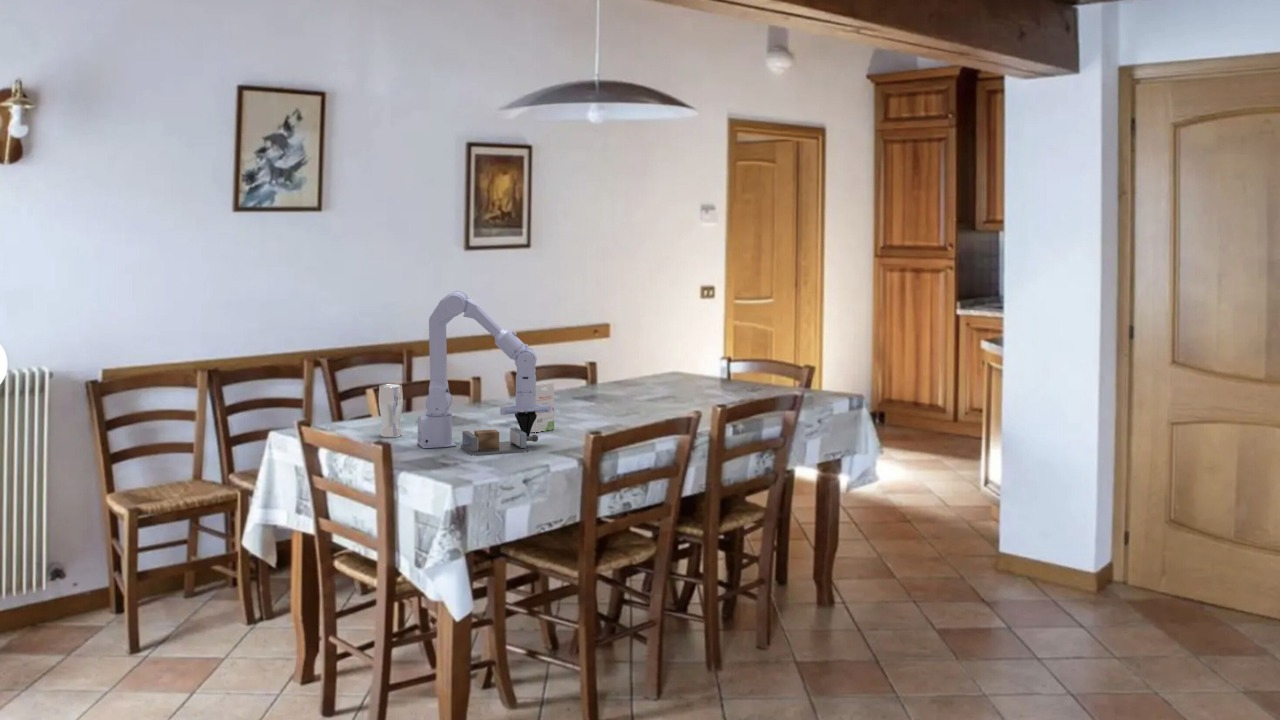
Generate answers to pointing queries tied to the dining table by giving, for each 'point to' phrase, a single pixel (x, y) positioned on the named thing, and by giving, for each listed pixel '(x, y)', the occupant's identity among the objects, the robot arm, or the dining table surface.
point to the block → (487, 439)
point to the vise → (472, 447)
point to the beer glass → (390, 409)
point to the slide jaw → (521, 437)
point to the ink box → (544, 419)
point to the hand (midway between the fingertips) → (525, 438)
